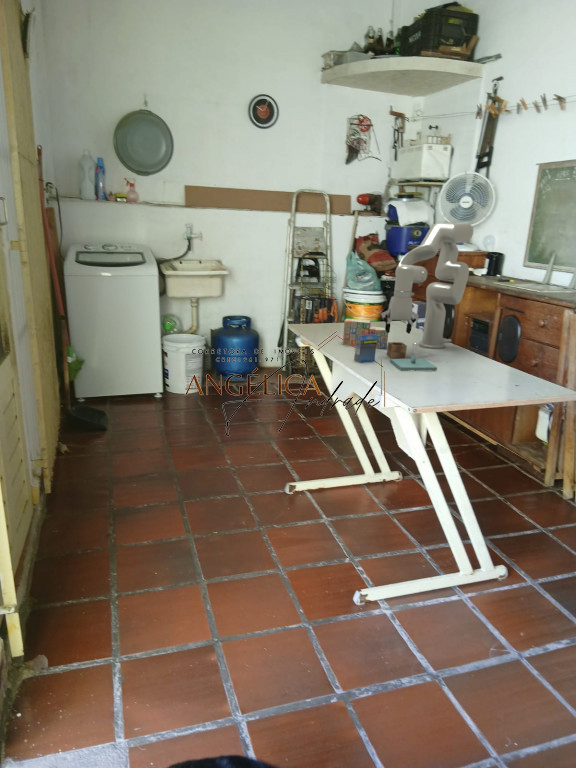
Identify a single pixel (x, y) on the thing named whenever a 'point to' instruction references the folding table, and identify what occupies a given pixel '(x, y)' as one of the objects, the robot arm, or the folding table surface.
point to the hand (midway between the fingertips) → (397, 332)
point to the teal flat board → (407, 365)
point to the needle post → (414, 353)
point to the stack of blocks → (363, 332)
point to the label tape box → (366, 348)
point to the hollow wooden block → (396, 350)
